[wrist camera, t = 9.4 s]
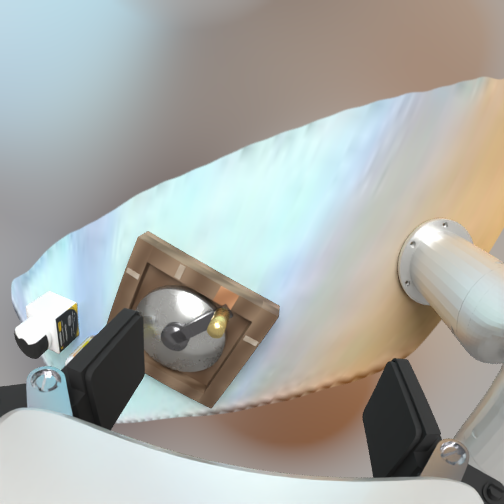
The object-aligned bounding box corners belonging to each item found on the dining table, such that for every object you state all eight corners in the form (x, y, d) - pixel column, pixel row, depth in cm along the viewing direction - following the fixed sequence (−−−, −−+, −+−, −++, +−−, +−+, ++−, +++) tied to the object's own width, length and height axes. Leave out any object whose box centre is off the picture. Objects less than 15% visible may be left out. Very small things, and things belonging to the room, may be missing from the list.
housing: (279, 305, 43) (278, 317, 40) (215, 396, 50) (211, 409, 47) (148, 231, 42) (137, 237, 39) (109, 335, 49) (99, 345, 46)
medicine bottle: (80, 334, 50) (43, 370, 39) (51, 321, 50) (14, 353, 39) (78, 302, 48) (36, 335, 37) (49, 289, 48) (6, 318, 37)
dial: (175, 376, 48) (160, 405, 41) (121, 309, 45) (98, 332, 39) (260, 339, 44) (254, 370, 37) (203, 258, 41) (186, 278, 34)
